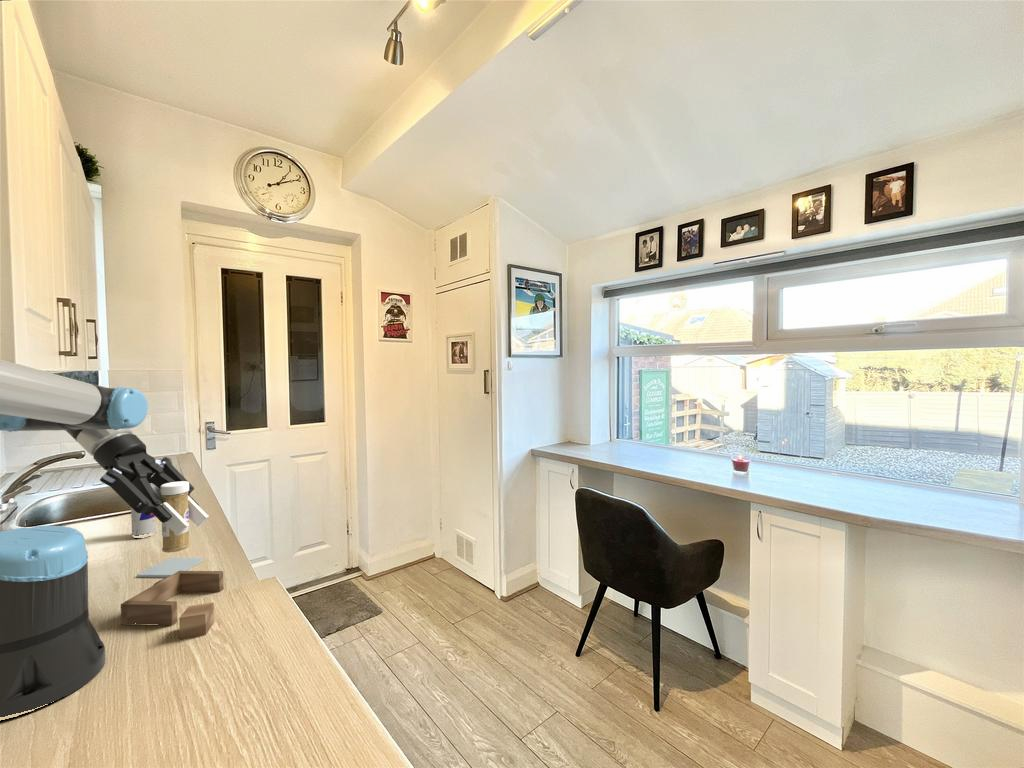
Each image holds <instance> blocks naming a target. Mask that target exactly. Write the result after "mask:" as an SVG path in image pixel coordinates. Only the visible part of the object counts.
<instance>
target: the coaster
mask: <svg viewBox="0 0 1024 768" xmlns="http://www.w3.org/2000/svg"><path fill="white" fill-rule="evenodd" d="M203 560H204V561H205V557H168V558H166V559H165V560H163V561H161V562H159V563H157V564H155V565H153V566H151V567H149V568H148V569H145V570H143V571H141V572H139V573H138V574H136V578H162V579H165V578H167V577H169V576H171V575H173V574H174V573H176V572H178V571H189V570H190V569H192V568H193V567H195V566H196V565H198V564H200V563H202V562H204V561H203Z"/></svg>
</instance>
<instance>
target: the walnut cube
mask: <svg viewBox="0 0 1024 768" xmlns="http://www.w3.org/2000/svg"><path fill="white" fill-rule="evenodd" d="M178 623H179V625H178V626H179V639H180V640H184V639H190V638H195V637H201V636H202V637H203V636H207V634H208V632H209V631H210V629H212V627H213V625H214V624H215V603H214V602H206V603H200V604H193V605H188V606H187V608H186V609H185V610H184V612H183V613H182V614H181V615H180V616H179V617H178Z"/></svg>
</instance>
